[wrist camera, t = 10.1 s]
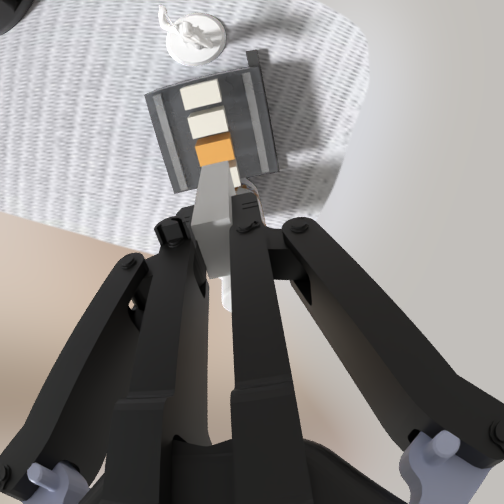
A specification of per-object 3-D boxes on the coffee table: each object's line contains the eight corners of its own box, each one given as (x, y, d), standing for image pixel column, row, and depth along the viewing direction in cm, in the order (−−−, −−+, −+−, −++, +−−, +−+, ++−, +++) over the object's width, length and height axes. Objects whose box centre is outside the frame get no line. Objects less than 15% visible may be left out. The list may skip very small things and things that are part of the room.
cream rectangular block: (184, 86, 28) (179, 89, 25) (217, 78, 27) (216, 79, 25) (189, 106, 29) (185, 110, 26) (222, 98, 29) (221, 101, 26)
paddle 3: (197, 139, 31) (194, 146, 29) (229, 131, 31) (230, 138, 28) (202, 157, 32) (200, 166, 30) (234, 150, 32) (234, 159, 30)
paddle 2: (190, 113, 29) (187, 118, 27) (223, 105, 29) (223, 109, 27) (195, 132, 31) (192, 139, 28) (228, 124, 30) (228, 130, 28)
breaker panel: (156, 89, 32) (142, 95, 27) (254, 66, 32) (259, 66, 26) (181, 174, 39) (173, 195, 34) (271, 155, 39) (278, 173, 33)
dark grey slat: (245, 51, 31) (246, 51, 30) (255, 50, 31) (256, 49, 30) (269, 170, 40) (270, 173, 39) (278, 168, 40) (279, 171, 39)
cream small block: (204, 164, 33) (202, 174, 30) (235, 157, 33) (236, 166, 30) (209, 182, 34) (207, 193, 32) (239, 175, 34) (240, 186, 31)
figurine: (238, 30, 29) (242, 16, 19) (204, 76, 32) (193, 83, 22) (187, 3, 26) (169, -21, 17) (154, 50, 29) (123, 47, 20)
